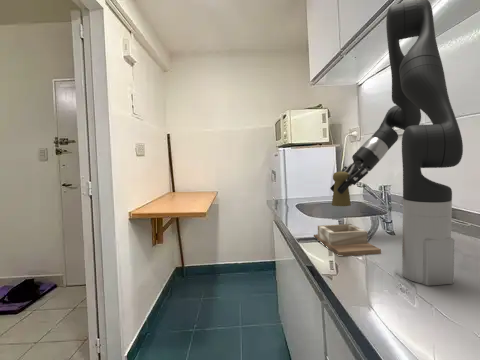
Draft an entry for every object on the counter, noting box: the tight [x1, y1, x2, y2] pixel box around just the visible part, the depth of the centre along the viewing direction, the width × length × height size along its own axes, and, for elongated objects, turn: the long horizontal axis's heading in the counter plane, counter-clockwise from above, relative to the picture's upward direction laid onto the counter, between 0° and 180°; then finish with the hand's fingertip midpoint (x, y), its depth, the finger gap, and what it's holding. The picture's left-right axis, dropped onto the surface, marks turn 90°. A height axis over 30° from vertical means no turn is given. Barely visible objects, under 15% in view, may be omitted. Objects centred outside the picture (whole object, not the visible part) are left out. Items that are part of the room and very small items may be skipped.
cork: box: [331, 171, 352, 207], centre depth 109 cm, size 6×6×11 cm
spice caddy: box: [313, 223, 382, 257], centre depth 100 cm, size 20×12×5 cm, turn 7°
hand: (335, 191), depth 109 cm, fingers closed on cork, 4 cm apart
